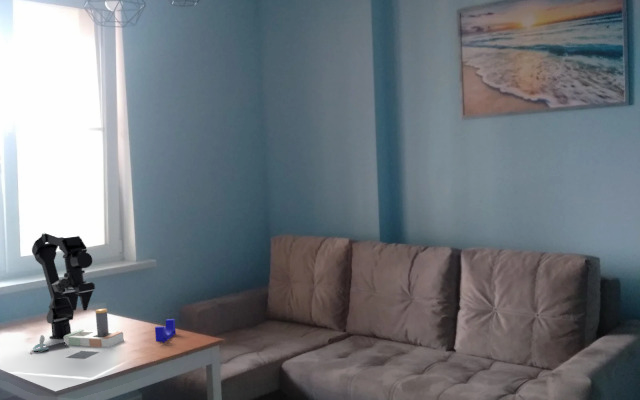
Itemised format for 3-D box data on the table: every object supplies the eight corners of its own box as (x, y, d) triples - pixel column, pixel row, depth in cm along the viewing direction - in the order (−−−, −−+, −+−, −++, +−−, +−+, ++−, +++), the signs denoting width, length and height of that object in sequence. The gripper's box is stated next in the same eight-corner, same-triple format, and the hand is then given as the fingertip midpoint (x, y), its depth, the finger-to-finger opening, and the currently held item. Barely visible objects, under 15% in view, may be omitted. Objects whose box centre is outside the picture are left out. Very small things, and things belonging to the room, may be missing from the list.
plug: (96, 346, 248) (94, 311, 247) (99, 343, 252) (97, 309, 251) (107, 345, 248) (105, 310, 247) (110, 342, 252) (108, 308, 252)
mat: (66, 359, 234) (65, 357, 233) (81, 352, 241) (81, 350, 241) (84, 360, 231) (84, 358, 231) (99, 353, 238) (99, 351, 238)
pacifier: (32, 356, 240) (49, 353, 243) (29, 339, 239) (47, 336, 242) (29, 352, 246) (46, 348, 249) (27, 335, 245) (44, 332, 248)
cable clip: (164, 334, 261) (163, 319, 260) (175, 334, 260) (174, 319, 260) (152, 343, 249) (151, 327, 249) (163, 343, 248) (162, 327, 248)
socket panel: (63, 346, 251) (62, 336, 251) (80, 339, 260) (79, 329, 259) (107, 348, 244) (107, 338, 244) (123, 341, 253) (122, 331, 252)
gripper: (42, 273, 253) (48, 314, 253) (63, 271, 240) (69, 315, 239) (71, 268, 261) (76, 308, 260) (92, 266, 247) (98, 308, 247)
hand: (79, 310), depth 252 cm, fingers open, 9 cm apart
